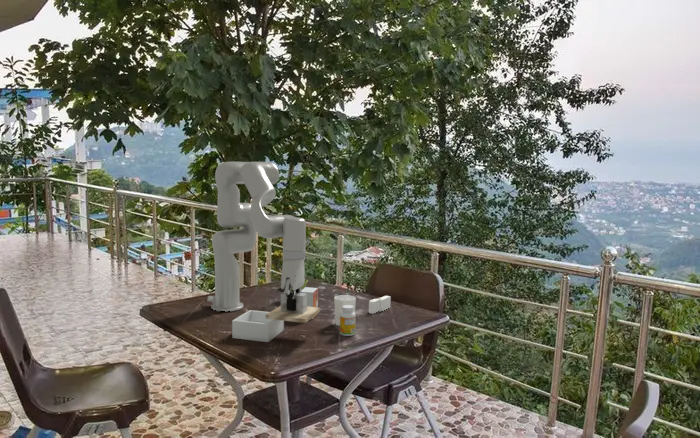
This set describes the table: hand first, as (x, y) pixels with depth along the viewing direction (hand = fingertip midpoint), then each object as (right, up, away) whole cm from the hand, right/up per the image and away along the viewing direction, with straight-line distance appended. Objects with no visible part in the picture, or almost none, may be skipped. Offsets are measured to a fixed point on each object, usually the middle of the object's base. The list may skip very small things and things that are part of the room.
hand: (293, 308), depth 171 cm
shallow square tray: (-13, -10, +5) cm, 17 cm away
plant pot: (-4, -5, +49) cm, 49 cm away
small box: (+3, -8, +26) cm, 27 cm away
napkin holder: (+30, -8, +36) cm, 48 cm away
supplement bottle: (+18, -10, +6) cm, 22 cm away
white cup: (+17, -9, +17) cm, 26 cm away
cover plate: (0, -2, 0) cm, 2 cm away
